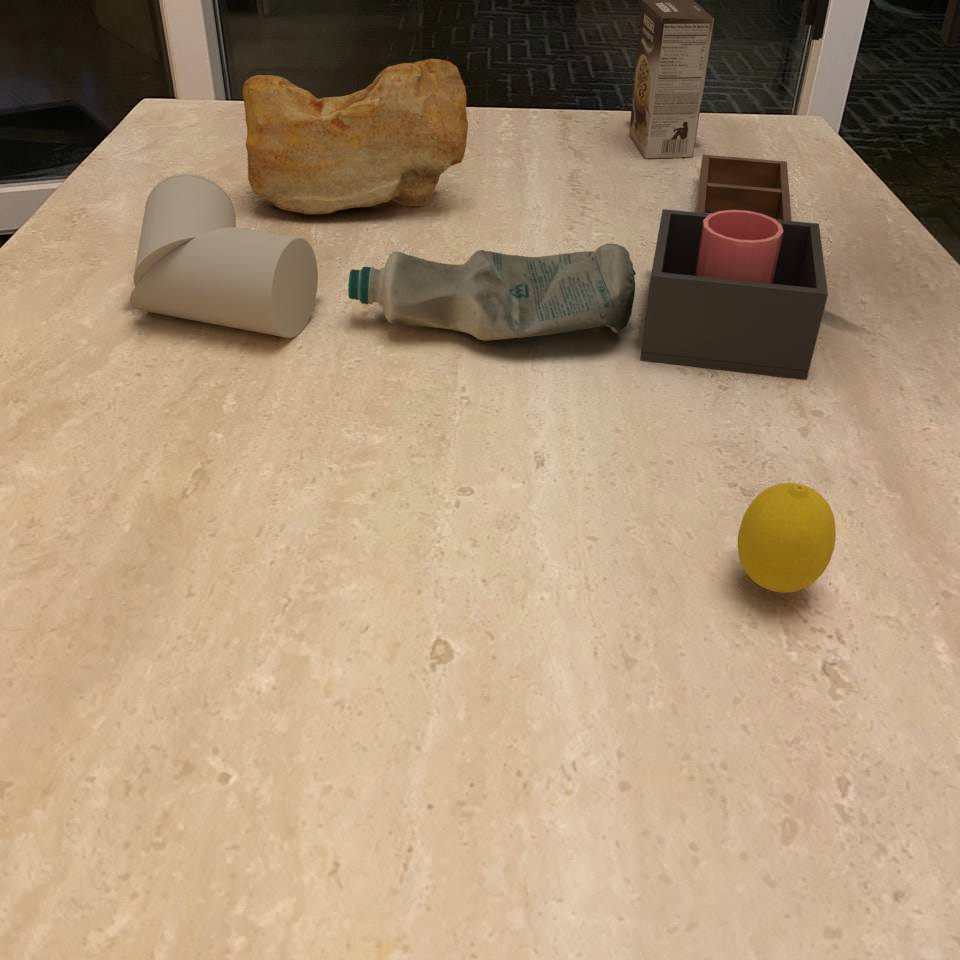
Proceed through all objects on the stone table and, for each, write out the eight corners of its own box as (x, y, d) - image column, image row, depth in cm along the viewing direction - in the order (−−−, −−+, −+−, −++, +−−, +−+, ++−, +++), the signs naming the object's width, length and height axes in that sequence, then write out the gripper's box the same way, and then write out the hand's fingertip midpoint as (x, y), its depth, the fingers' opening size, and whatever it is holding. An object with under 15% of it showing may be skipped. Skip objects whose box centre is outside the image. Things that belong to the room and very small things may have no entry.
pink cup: (722, 298, 91) (738, 203, 86) (777, 326, 87) (799, 228, 82) (673, 318, 88) (687, 222, 83) (729, 348, 84) (747, 248, 79)
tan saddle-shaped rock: (468, 173, 119) (464, 38, 111) (471, 218, 105) (466, 67, 97) (273, 179, 119) (255, 44, 111) (249, 225, 105) (226, 74, 97)
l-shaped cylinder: (56, 314, 86) (263, 354, 81) (43, 189, 82) (261, 223, 77) (175, 271, 102) (354, 303, 97) (169, 164, 97) (357, 191, 92)
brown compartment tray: (781, 187, 115) (787, 161, 113) (786, 253, 101) (792, 225, 99) (699, 179, 116) (702, 154, 114) (691, 243, 102) (696, 216, 100)
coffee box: (626, 134, 128) (640, -3, 118) (675, 132, 129) (693, -3, 119) (643, 159, 121) (659, 16, 111) (695, 158, 122) (716, 15, 112)
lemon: (721, 605, 61) (743, 503, 56) (736, 549, 65) (758, 450, 60) (813, 629, 60) (845, 527, 55) (823, 570, 64) (853, 470, 59)
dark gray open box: (652, 287, 94) (662, 208, 90) (800, 303, 92) (818, 223, 88) (640, 360, 84) (650, 275, 79) (806, 379, 82) (828, 293, 77)
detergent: (626, 288, 94) (360, 277, 94) (636, 219, 89) (356, 207, 89) (638, 372, 84) (342, 359, 84) (650, 299, 79) (336, 286, 79)
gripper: (1070, -241, 67) (992, 30, 78) (804, -240, 70) (764, 21, 81) (1100, -234, 61) (1011, 58, 72) (809, -234, 64) (765, 46, 75)
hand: (880, 38), depth 76 cm, fingers open, 9 cm apart
